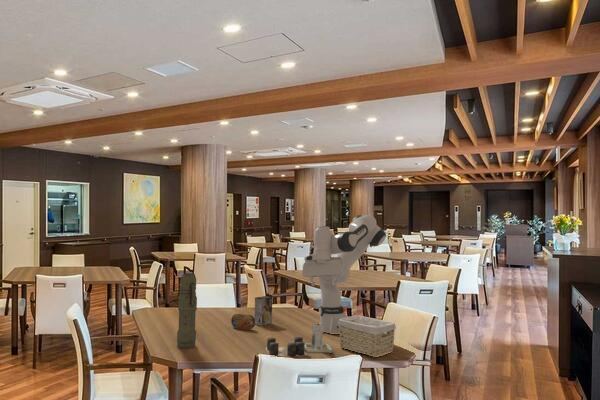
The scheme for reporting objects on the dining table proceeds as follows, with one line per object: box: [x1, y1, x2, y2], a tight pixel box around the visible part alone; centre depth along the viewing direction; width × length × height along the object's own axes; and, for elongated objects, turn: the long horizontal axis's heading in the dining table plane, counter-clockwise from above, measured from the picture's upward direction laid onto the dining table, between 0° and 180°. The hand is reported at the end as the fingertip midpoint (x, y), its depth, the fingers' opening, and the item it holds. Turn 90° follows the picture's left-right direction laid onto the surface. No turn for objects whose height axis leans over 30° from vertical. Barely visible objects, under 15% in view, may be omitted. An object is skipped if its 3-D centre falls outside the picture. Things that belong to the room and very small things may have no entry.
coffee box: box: [254, 295, 273, 327], centre depth 280 cm, size 9×6×16 cm
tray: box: [304, 342, 333, 354], centre depth 224 cm, size 12×12×2 cm
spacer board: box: [265, 336, 308, 357], centre depth 217 cm, size 18×16×6 cm
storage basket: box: [338, 315, 397, 356], centre depth 225 cm, size 24×16×15 cm
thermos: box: [176, 272, 198, 349], centre depth 228 cm, size 9×12×35 cm
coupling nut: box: [311, 323, 324, 350], centre depth 223 cm, size 5×4×12 cm
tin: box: [230, 313, 256, 331], centre depth 267 cm, size 15×3×8 cm, turn 62°
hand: (322, 285), depth 229 cm, fingers open, 8 cm apart
